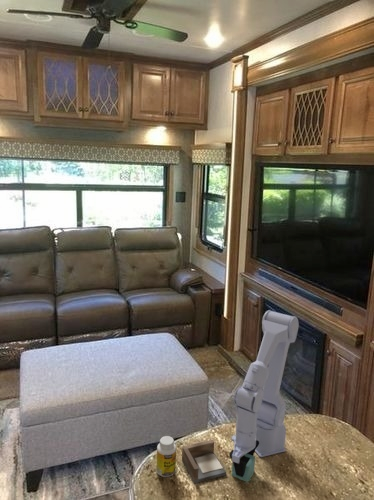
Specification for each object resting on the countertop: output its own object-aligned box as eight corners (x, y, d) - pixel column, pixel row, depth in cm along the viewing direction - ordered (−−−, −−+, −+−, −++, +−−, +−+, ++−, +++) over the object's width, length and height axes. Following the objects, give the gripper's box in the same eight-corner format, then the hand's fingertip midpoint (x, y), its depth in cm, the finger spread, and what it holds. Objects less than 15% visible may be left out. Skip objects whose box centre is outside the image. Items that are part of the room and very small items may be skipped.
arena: (212, 452, 130) (212, 439, 129) (226, 475, 121) (226, 461, 120) (181, 459, 126) (182, 446, 125) (194, 483, 117) (194, 469, 116)
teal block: (238, 465, 125) (239, 450, 124) (254, 471, 122) (255, 456, 121) (231, 475, 121) (232, 460, 120) (247, 482, 118) (249, 467, 117)
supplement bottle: (162, 481, 118) (163, 449, 116) (153, 468, 122) (153, 438, 120) (179, 473, 121) (180, 442, 119) (169, 461, 125) (170, 431, 123)
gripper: (242, 410, 126) (240, 449, 129) (222, 436, 114) (220, 479, 117) (264, 418, 123) (261, 458, 126) (246, 445, 111) (243, 489, 114)
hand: (243, 469), depth 121 cm, fingers closed on teal block, 5 cm apart
